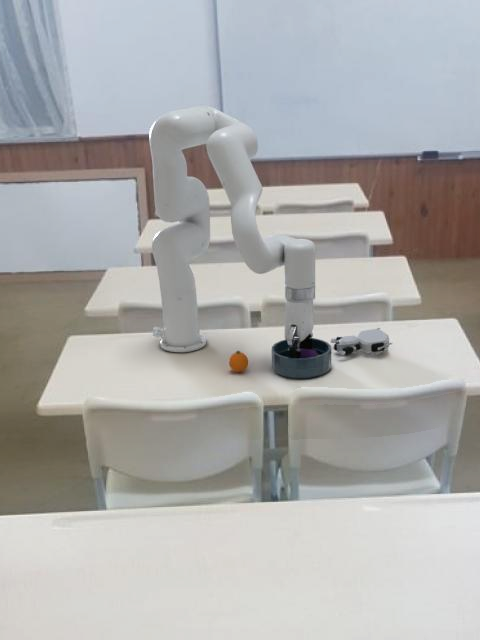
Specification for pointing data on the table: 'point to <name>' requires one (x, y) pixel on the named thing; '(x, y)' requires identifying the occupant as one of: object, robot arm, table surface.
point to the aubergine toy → (308, 353)
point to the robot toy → (362, 342)
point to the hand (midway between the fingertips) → (300, 358)
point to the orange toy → (238, 361)
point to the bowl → (301, 360)
